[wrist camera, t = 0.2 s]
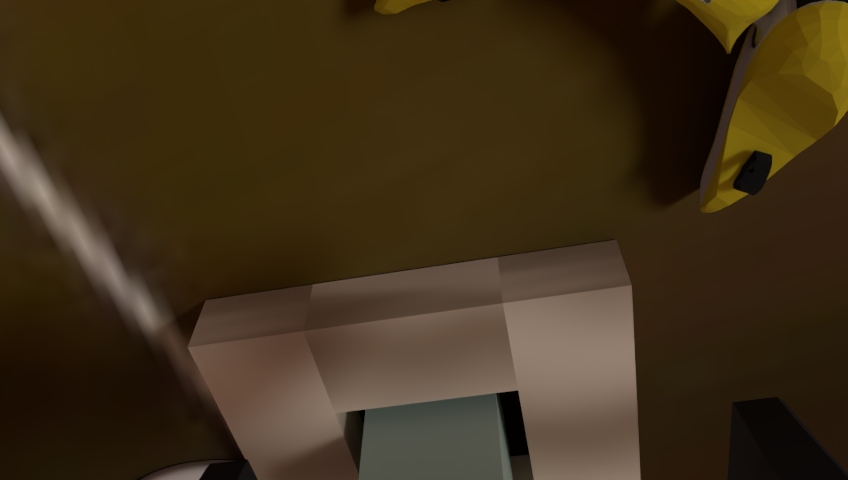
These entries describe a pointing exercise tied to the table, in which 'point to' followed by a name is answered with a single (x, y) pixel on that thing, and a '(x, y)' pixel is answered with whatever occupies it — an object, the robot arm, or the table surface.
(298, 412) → the board
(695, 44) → the table surface
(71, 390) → the table surface
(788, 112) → the game controller
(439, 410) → the block
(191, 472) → the coaster
